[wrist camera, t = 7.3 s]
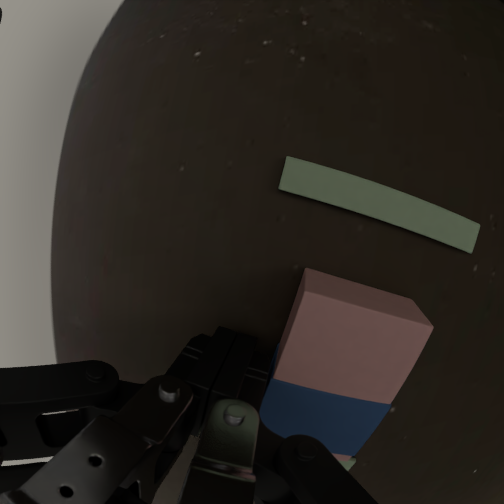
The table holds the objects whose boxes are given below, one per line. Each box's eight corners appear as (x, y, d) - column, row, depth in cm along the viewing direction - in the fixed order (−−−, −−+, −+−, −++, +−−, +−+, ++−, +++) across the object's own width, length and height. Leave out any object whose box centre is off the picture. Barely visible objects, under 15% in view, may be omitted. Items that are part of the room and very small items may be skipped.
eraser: (255, 403, 13) (244, 441, 10) (303, 266, 11) (302, 290, 8) (346, 424, 12) (349, 463, 10) (413, 299, 10) (436, 328, 8)
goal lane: (210, 437, 14) (209, 441, 14) (287, 156, 10) (286, 155, 10) (346, 468, 13) (346, 472, 13) (477, 224, 9) (480, 224, 9)
